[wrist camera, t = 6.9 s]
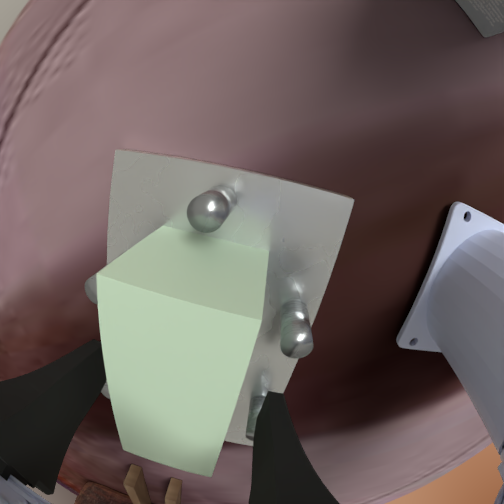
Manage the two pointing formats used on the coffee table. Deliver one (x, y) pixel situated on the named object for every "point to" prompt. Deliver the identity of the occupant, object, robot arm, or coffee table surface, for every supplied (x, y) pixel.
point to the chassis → (242, 232)
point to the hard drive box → (485, 15)
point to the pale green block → (179, 342)
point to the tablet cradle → (139, 489)
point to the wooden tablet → (101, 495)
